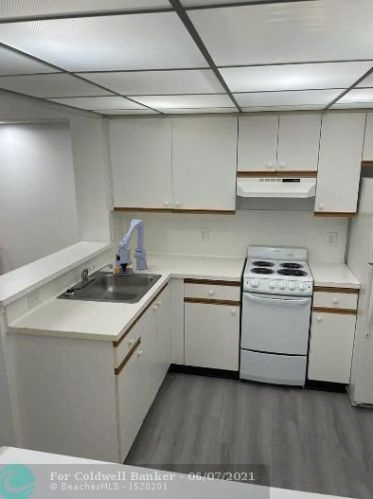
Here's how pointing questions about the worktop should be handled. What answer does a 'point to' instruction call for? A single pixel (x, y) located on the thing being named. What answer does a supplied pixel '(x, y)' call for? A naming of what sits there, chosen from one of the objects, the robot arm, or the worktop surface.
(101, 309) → the worktop surface
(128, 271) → the breaker panel
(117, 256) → the circuit breaker
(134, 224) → the robot arm
